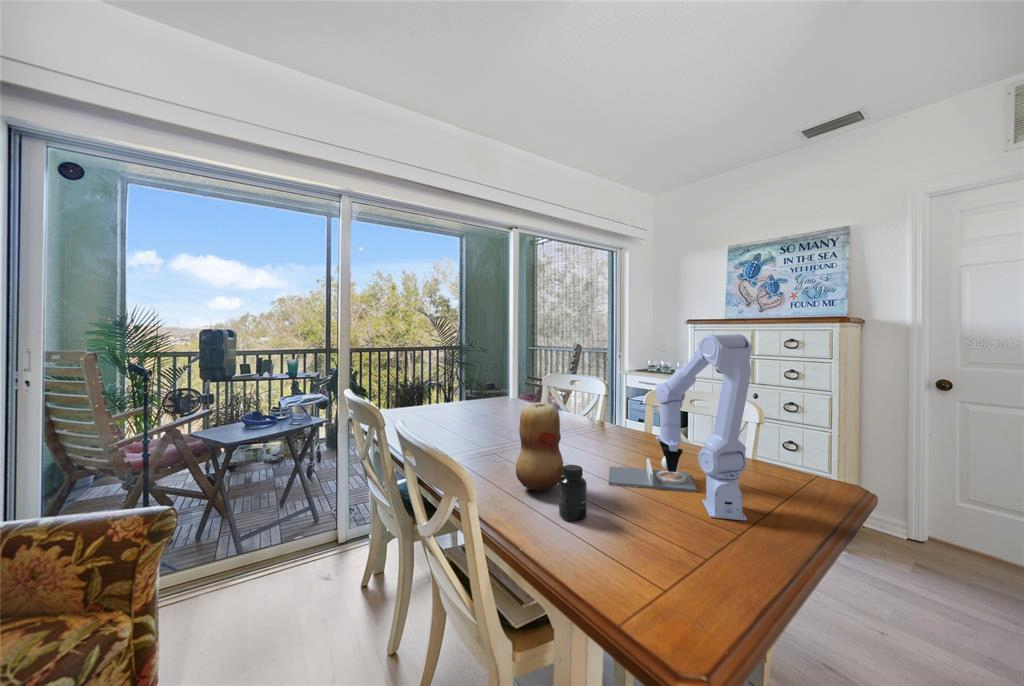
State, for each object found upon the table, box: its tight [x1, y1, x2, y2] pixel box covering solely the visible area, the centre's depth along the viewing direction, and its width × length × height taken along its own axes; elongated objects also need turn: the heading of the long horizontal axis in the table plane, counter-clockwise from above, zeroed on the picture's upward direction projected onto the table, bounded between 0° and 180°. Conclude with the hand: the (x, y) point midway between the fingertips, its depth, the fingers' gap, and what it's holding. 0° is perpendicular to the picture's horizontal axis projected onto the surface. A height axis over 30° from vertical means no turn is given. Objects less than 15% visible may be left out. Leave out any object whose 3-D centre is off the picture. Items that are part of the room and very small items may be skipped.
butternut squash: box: [515, 401, 564, 492], centre depth 111 cm, size 14×13×25 cm
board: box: [608, 458, 698, 493], centre depth 117 cm, size 14×24×4 cm, turn 74°
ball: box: [661, 455, 680, 471], centre depth 115 cm, size 5×5×5 cm
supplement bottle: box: [558, 464, 588, 523], centre depth 94 cm, size 7×7×12 cm
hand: (670, 468), depth 115 cm, fingers closed on ball, 5 cm apart
